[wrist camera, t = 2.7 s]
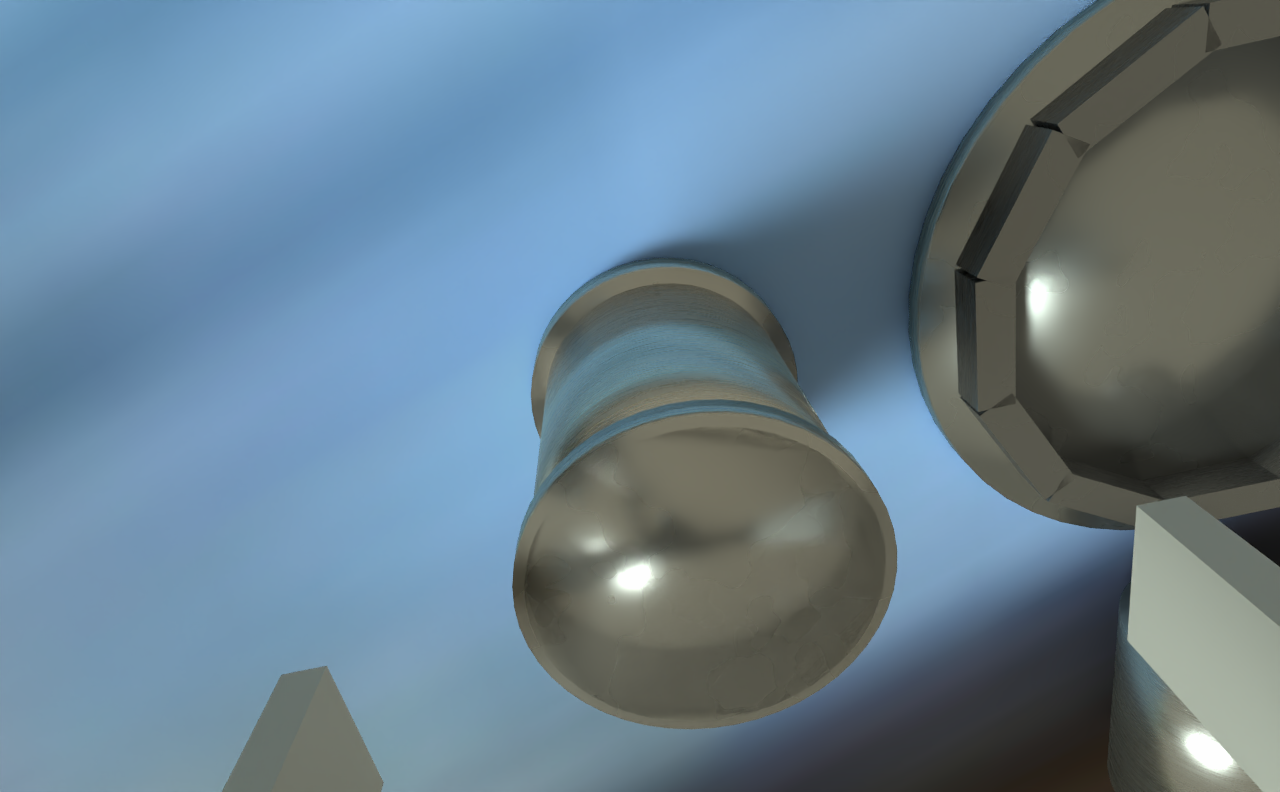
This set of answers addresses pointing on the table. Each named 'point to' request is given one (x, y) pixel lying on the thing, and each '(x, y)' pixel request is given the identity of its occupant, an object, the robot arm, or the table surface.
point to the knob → (690, 508)
